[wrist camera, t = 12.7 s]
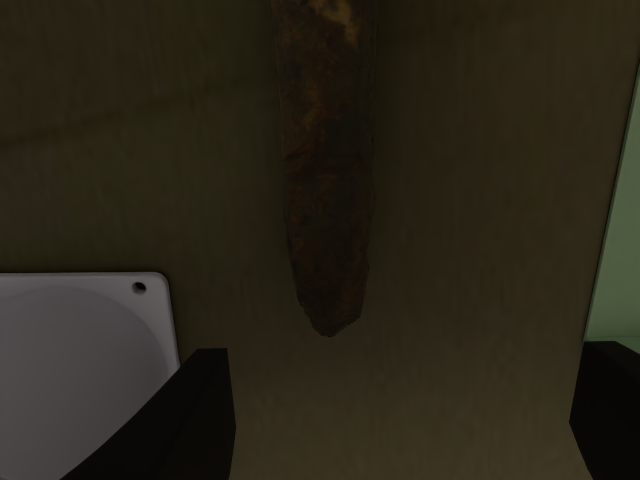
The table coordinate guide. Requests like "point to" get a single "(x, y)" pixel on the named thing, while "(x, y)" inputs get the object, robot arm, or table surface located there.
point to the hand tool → (327, 150)
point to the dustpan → (621, 249)
